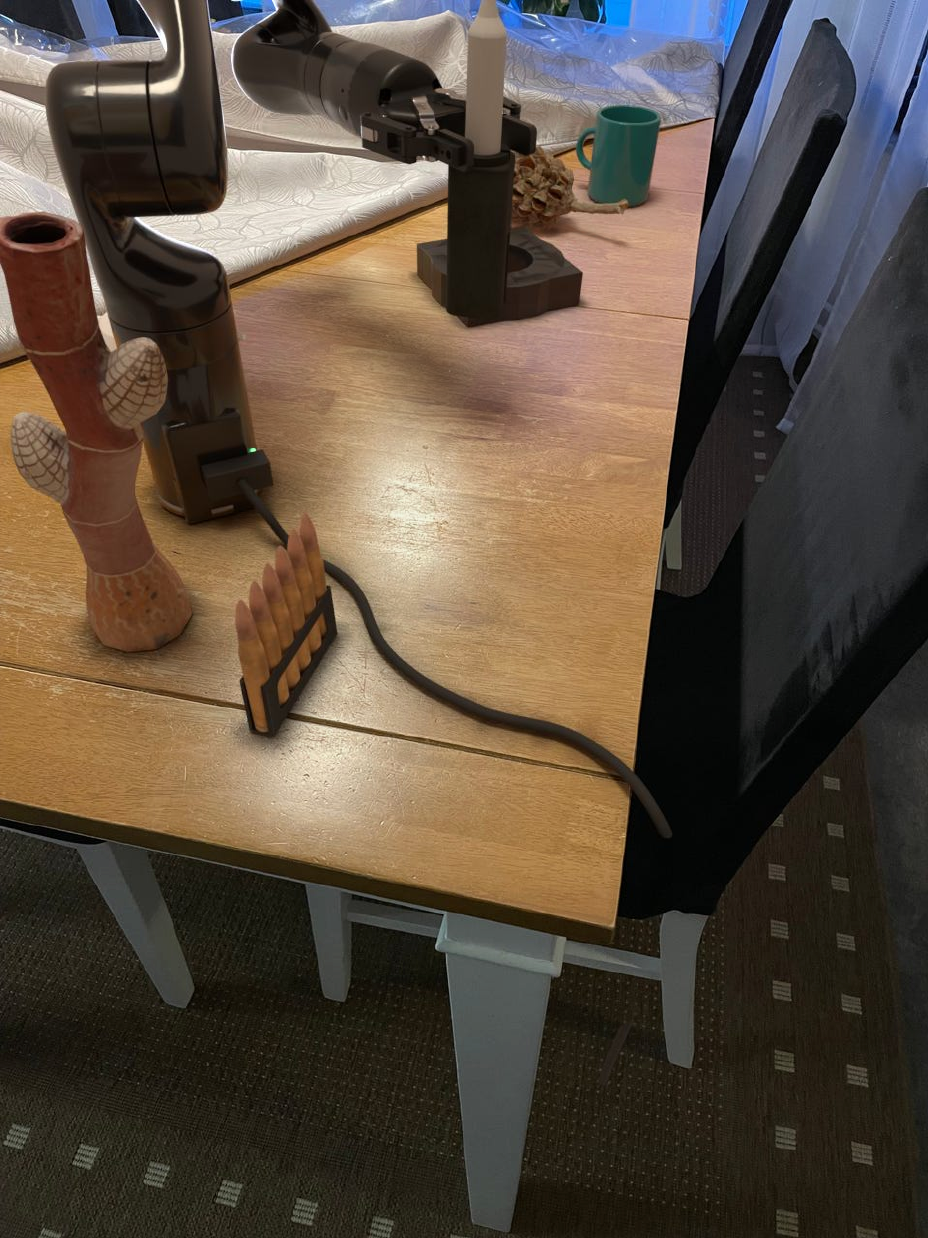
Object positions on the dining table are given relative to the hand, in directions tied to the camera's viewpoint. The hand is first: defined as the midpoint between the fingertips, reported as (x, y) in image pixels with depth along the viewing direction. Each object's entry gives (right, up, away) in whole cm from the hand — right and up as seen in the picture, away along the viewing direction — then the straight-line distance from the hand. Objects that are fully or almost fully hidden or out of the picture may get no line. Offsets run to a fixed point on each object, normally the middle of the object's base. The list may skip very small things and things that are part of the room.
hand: (502, 149), depth 70 cm
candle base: (+1, +3, +39) cm, 39 cm away
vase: (-27, -38, -3) cm, 46 cm away
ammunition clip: (-15, -42, -7) cm, 45 cm away
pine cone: (+9, +17, +53) cm, 56 cm away
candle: (-2, -9, +11) cm, 14 cm away
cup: (+19, +26, +62) cm, 70 cm away
